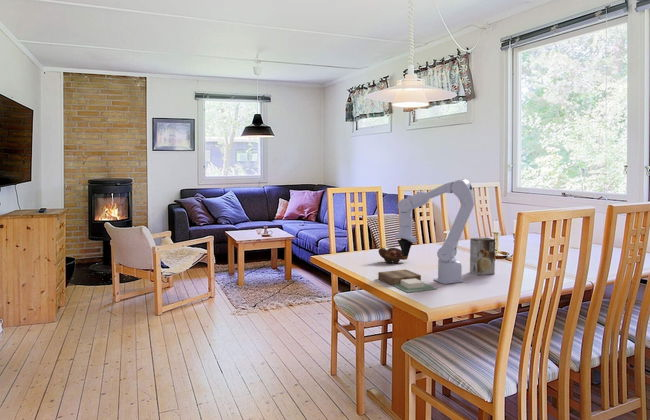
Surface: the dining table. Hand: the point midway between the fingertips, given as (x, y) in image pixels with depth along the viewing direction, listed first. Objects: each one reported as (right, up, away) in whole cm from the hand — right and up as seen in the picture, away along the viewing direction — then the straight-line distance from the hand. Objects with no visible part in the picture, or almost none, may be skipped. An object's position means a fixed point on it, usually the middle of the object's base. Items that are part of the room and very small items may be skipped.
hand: (405, 256), depth 207 cm
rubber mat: (+1, -11, -17) cm, 20 cm away
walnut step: (-4, -10, -6) cm, 12 cm away
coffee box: (+36, -9, +7) cm, 38 cm away
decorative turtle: (-1, -7, +31) cm, 31 cm away
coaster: (0, -11, -16) cm, 19 cm away
